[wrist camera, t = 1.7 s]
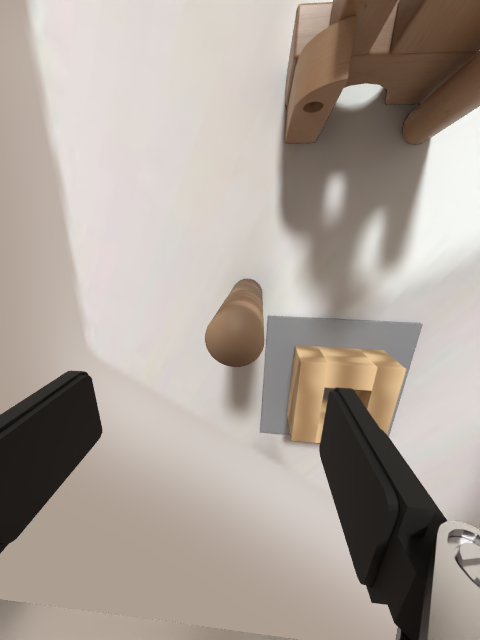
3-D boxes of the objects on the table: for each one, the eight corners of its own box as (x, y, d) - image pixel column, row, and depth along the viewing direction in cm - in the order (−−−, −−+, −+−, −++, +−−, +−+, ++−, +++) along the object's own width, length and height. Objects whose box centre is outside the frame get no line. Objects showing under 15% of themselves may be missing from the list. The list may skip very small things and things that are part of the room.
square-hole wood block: (383, 350, 30) (406, 369, 26) (365, 420, 34) (382, 448, 29) (294, 345, 31) (301, 362, 26) (287, 414, 35) (291, 440, 30)
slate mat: (419, 323, 29) (422, 324, 29) (385, 440, 35) (386, 443, 35) (268, 315, 31) (268, 316, 30) (260, 429, 37) (260, 432, 36)
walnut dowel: (262, 279, 29) (265, 313, 14) (261, 308, 30) (262, 368, 15) (232, 278, 29) (204, 310, 14) (232, 307, 31) (205, 364, 16)
